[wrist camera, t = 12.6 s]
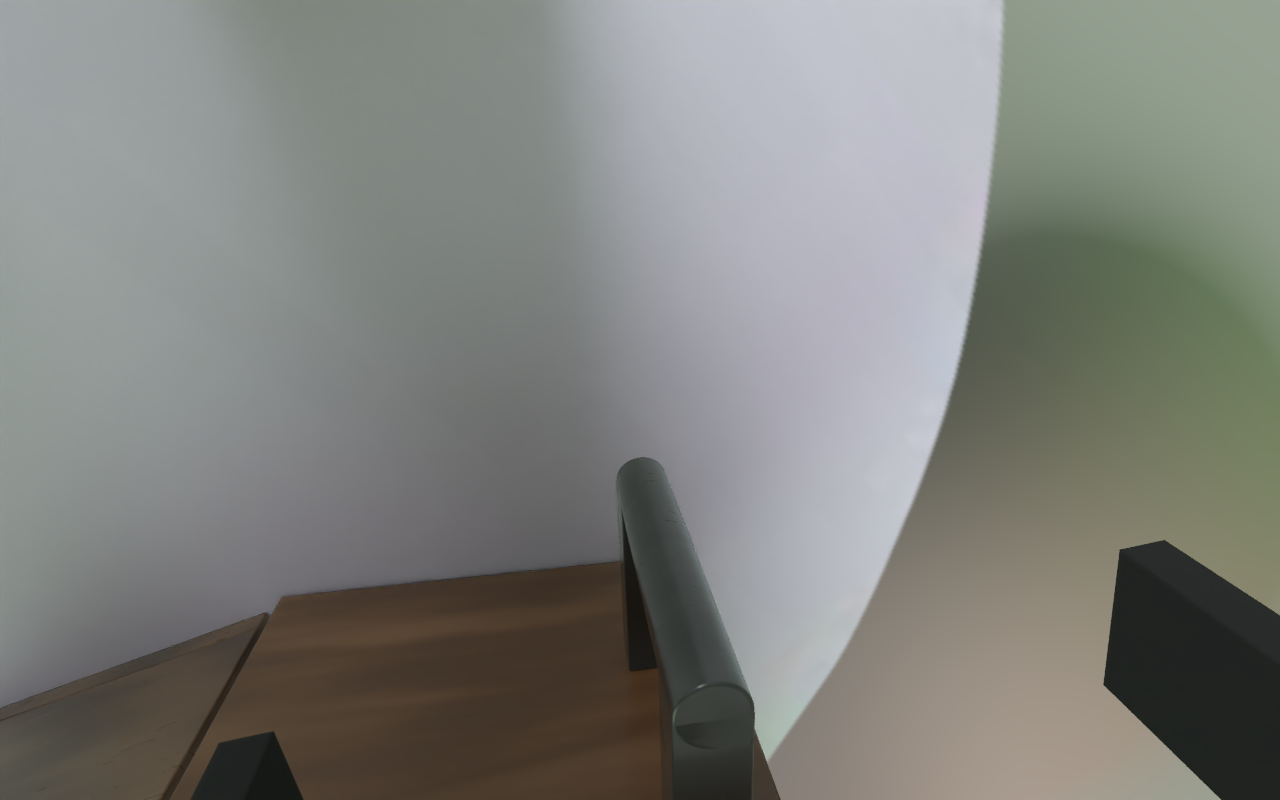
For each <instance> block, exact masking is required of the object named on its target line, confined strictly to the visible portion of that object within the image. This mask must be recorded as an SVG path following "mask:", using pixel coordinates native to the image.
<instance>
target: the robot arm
mask: <svg viewBox="0 0 1280 800" xmlns="http://www.w3.org/2000/svg"><path fill="white" fill-rule="evenodd" d="M1104 686H1105V687H1106V688H1107V689H1108V690H1109V691H1110V692H1111V693H1113V694H1114V695H1115V696H1116V697H1117V698H1118V699H1119V700H1120V701H1121V702H1122V703H1123V704H1124V705H1125V706H1126V707H1127V708H1128V709H1129V710H1130V711H1131V712H1132V713H1133V714H1134V715H1135V716H1136V717H1137V718H1138V719H1139V720H1141V722H1142V723H1143V724H1144V725H1145V726H1146V727H1147V728H1149V729H1150V731H1152V732H1153V733H1154V734H1155V735H1156V736H1157V737H1158V738H1159V739H1160V740H1161V741H1162V742H1163V743H1164V744H1165V745H1166V746H1167V747H1168V748H1169V749H1170V750H1171V751H1172V752H1173V753H1174V754H1175V755H1176V756H1177V757H1178V758H1179V759H1180V760H1181V761H1182V762H1183V763H1184V764H1185V765H1186V766H1187V767H1189V769H1190V770H1191V771H1193V773H1195V774H1196V775H1197V776H1198V777H1199V778H1200V779H1201V780H1202V781H1203V782H1204V783H1205V784H1206V785H1207V786H1208V787H1209V788H1210V789H1211V790H1212V791H1213V792H1214V793H1215V794H1216V795H1217V796H1218V797H1219V798H1220V799H1221V800H1280V615H1278V614H1277V613H1275V612H1274V611H1272V610H1270V609H1269V608H1268V607H1266V606H1265V605H1263V604H1261V603H1260V602H1258V601H1257V600H1255V599H1254V598H1252V597H1251V596H1249V595H1248V594H1246V593H1244V592H1243V591H1241V590H1240V589H1238V588H1237V587H1235V586H1234V585H1232V584H1231V583H1229V582H1228V581H1226V580H1225V579H1223V578H1222V577H1220V576H1218V575H1217V574H1216V573H1214V572H1213V571H1211V570H1209V569H1208V568H1206V567H1205V566H1203V565H1202V564H1200V563H1199V562H1197V561H1195V560H1194V559H1193V558H1191V557H1189V556H1188V555H1186V554H1185V553H1183V552H1182V551H1180V550H1179V549H1177V548H1176V547H1174V546H1173V545H1171V544H1169V543H1168V542H1166V541H1165V540H1163V541H1158V542H1154V543H1149V544H1144V545H1140V546H1135V547H1130V548H1126V549H1121V550H1120V553H1119V561H1118V569H1117V577H1116V585H1115V594H1114V603H1113V611H1112V619H1111V627H1110V635H1109V643H1108V652H1107V661H1106V668H1105V677H1104ZM190 800H304V799H303V797H302V795H301V792H300V790H299V788H298V786H297V783H296V781H295V779H294V776H293V774H292V772H291V770H290V767H289V765H288V763H287V760H286V758H285V756H284V753H283V751H282V749H281V747H280V744H279V742H278V740H277V737H276V735H275V733H274V731H271V732H267V733H262V734H257V735H253V736H248V737H243V738H238V739H234V740H229V741H224V742H220V743H219V744H218V746H217V748H216V750H215V752H214V754H213V756H212V758H211V760H210V762H209V764H208V766H207V768H206V770H205V772H204V774H203V775H202V777H201V779H200V781H199V783H198V785H197V787H196V789H195V791H194V793H193V795H192V797H191V799H190Z"/></svg>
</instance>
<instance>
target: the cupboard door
mask: <svg viewBox="0 0 1280 800" xmlns="http://www.w3.org/2000/svg"><path fill="white" fill-rule="evenodd" d="M616 495H617V514H618V533H619V553H620V562H612V563H602V564H593V565H583V566H573V567H564V568H554V569H545V570H535V571H526V572H516V573H506V574H497V575H487V576H478V577H468V578H459V579H449V580H439V581H430V582H420V583H411V584H401V585H392V586H382V587H372V588H363V589H353V590H344V591H334V592H325V593H315V594H305V595H296V596H286V597H282V598H281V599H280V601H279V603H278V604H277V606H276V608H275V610H274V612H273V613H272V615H271V617H270V619H269V621H268V622H267V624H266V626H265V628H264V630H263V632H262V633H261V635H260V637H259V639H258V641H257V642H256V644H255V646H254V648H253V650H252V651H251V653H250V655H249V657H248V659H247V661H246V662H245V664H244V666H243V668H242V670H241V671H240V673H239V675H238V677H237V679H236V681H235V682H234V684H233V686H232V688H231V690H230V691H229V693H228V695H227V697H226V699H225V700H224V702H223V704H222V706H221V708H220V710H219V711H218V713H217V715H216V717H215V719H214V720H213V722H212V724H211V726H210V728H209V730H208V731H207V733H206V735H205V737H204V739H203V740H202V742H201V744H200V746H199V748H198V749H197V751H196V753H195V755H194V757H193V759H192V760H191V762H190V764H189V766H188V768H187V769H186V771H185V773H184V775H183V777H182V778H181V780H180V782H179V784H178V786H177V788H176V789H175V791H174V793H173V795H172V797H171V798H170V800H190V799H191V797H192V795H193V793H194V791H195V789H196V787H197V785H198V783H199V781H200V779H201V777H202V775H203V774H204V772H205V770H206V768H207V766H208V764H209V762H210V760H211V758H212V756H213V754H214V752H215V750H216V748H217V746H218V744H219V743H220V742H224V741H229V740H234V739H238V738H243V737H248V736H253V735H257V734H262V733H267V732H271V731H274V733H275V735H276V737H277V740H278V742H279V744H280V747H281V749H282V751H283V753H284V756H285V758H286V760H287V763H288V765H289V767H290V770H291V772H292V774H293V776H294V779H295V781H296V783H297V786H298V788H299V790H300V792H301V795H302V797H303V799H304V800H780V797H779V794H778V792H777V789H776V786H775V783H774V781H773V778H772V775H771V773H770V770H769V767H768V764H767V762H766V759H765V756H764V753H763V751H762V748H761V745H760V743H759V740H758V737H757V734H756V732H755V729H754V723H755V713H754V703H753V700H752V697H751V695H750V692H749V689H748V687H747V684H746V682H745V679H744V676H743V674H742V671H741V668H740V666H739V663H738V661H737V658H736V655H735V653H734V650H733V647H732V645H731V642H730V640H729V637H728V634H727V632H726V629H725V627H724V624H723V621H722V619H721V616H720V613H719V611H718V608H717V606H716V603H715V600H714V598H713V595H712V593H711V590H710V587H709V585H708V582H707V579H706V577H705V574H704V572H703V569H702V566H701V564H700V561H699V559H698V556H697V553H696V551H695V548H694V545H693V543H692V540H691V538H690V535H689V532H688V530H687V527H686V525H685V522H684V519H683V517H682V514H681V511H680V509H679V506H678V504H677V501H676V498H675V496H674V493H673V490H672V488H671V485H670V483H669V480H668V477H667V475H666V472H665V470H664V468H663V467H662V465H661V464H660V463H659V462H657V461H655V460H653V459H651V458H646V457H639V458H635V459H632V460H630V461H628V462H627V463H625V464H624V465H623V466H622V467H621V468H620V470H619V472H618V474H617V477H616Z"/></svg>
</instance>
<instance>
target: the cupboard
mask: <svg viewBox="0 0 1280 800" xmlns="http://www.w3.org/2000/svg"><path fill="white" fill-rule="evenodd" d="M269 619H270V618H269V616H268V615H267V613H263V614H260V615H258V616H255V617H252V618H249V619H247V620H244V621H241V622H238V623H235V624H233V625H230V626H227V627H224V628H222V629H219V630H216V631H213V632H211V633H208V634H205V635H202V636H199V637H197V638H194V639H191V640H188V641H186V642H183V643H180V644H177V645H174V646H172V647H169V648H166V649H163V650H161V651H158V652H155V653H152V654H150V655H147V656H144V657H141V658H138V659H136V660H133V661H130V662H127V663H125V664H122V665H119V666H116V667H114V668H111V669H108V670H105V671H102V672H100V673H97V674H94V675H91V676H89V677H86V678H83V679H80V680H78V681H75V682H72V683H69V684H66V685H64V686H61V687H58V688H55V689H53V690H50V691H47V692H44V693H41V694H39V695H36V696H33V697H30V698H28V699H25V700H22V701H19V702H17V703H14V704H11V705H8V706H5V707H3V708H0V800H170V798H171V797H172V795H173V793H174V791H175V789H176V788H177V786H178V784H179V782H180V780H181V778H182V777H183V775H184V773H185V771H186V769H187V768H188V766H189V764H190V762H191V760H192V759H193V757H194V755H195V753H196V751H197V749H198V748H199V746H200V744H201V742H202V740H203V739H204V737H205V735H206V733H207V731H208V730H209V728H210V726H211V724H212V722H213V720H214V719H215V717H216V715H217V713H218V711H219V710H220V708H221V706H222V704H223V702H224V700H225V699H226V697H227V695H228V693H229V691H230V690H231V688H232V686H233V684H234V682H235V681H236V679H237V677H238V675H239V673H240V671H241V670H242V668H243V666H244V664H245V662H246V661H247V659H248V657H249V655H250V653H251V651H252V650H253V648H254V646H255V644H256V642H257V641H258V639H259V637H260V635H261V633H262V632H263V630H264V628H265V626H266V624H267V622H268V621H269Z"/></svg>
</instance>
